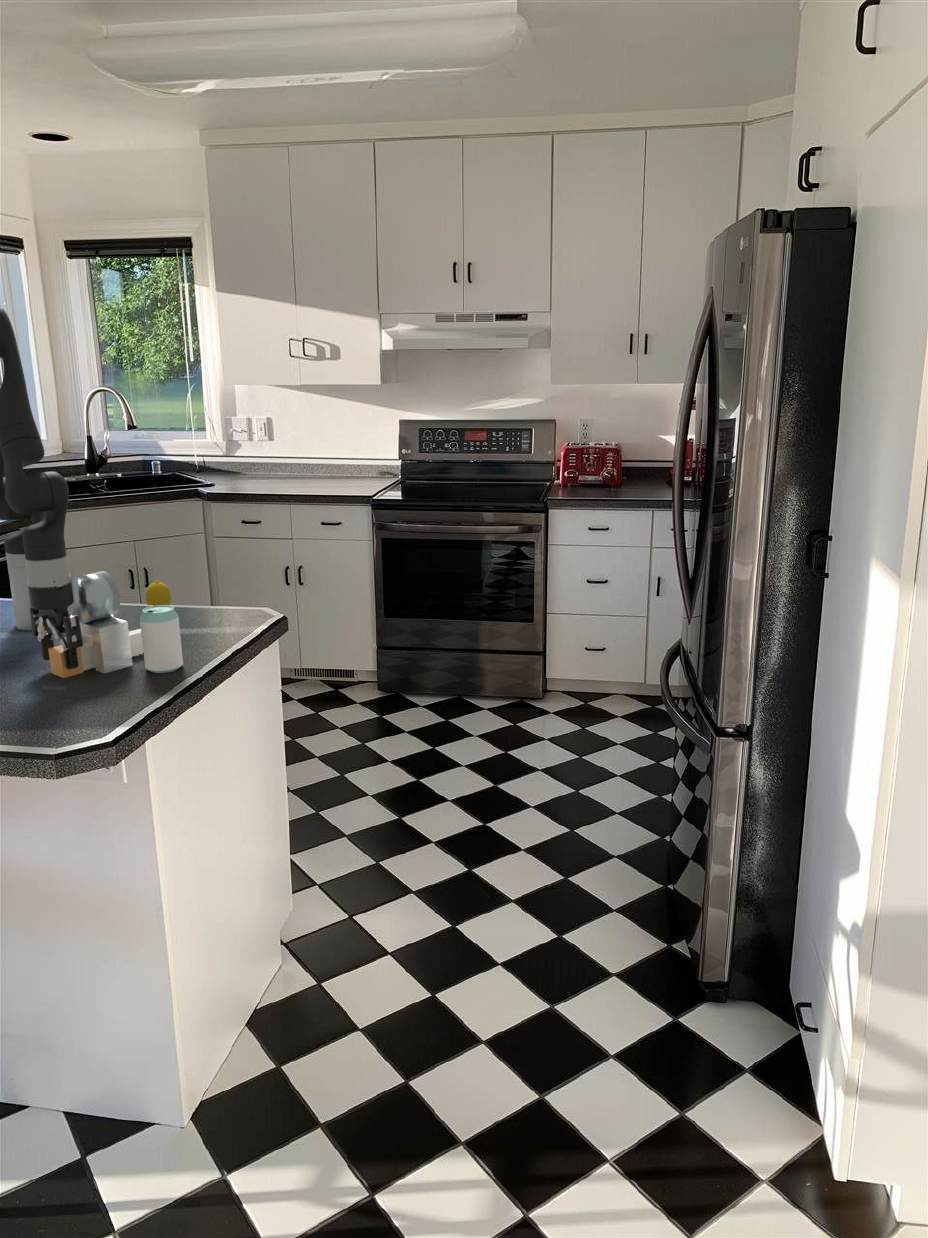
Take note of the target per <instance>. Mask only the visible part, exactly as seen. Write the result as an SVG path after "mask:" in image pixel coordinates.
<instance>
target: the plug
mask: <svg viewBox="0 0 928 1238" xmlns="http://www.w3.org/2000/svg"><path fill="white" fill-rule="evenodd" d="M129 639H130V648H131V656H132V657H133V656H134V657H136V656H140V655H139V654H141V655H144V654H143V644H142V635H141V628H138V629H134V630H131V631H129ZM48 650H49V657H50V660H49V664H50V671H51V674H53V675H55V676H58V677H61V678H62V679H65V678H70V677H71V676H72V677H73V676H77V675H80V674H83V673H84V671H88V670H91V669H94V668H95V669H96V665H95V657H94V649H93V642H92V641H91V642H88V643H84V644H83V646H81V647H78V648H77V649H76V650H77V658H78V667H77V668H74V669H67V668H66V667H65V659H64V652H63V650H64V649H63V647H62V645H61V644H60V645H57V646H54V647H52V648H48Z"/></svg>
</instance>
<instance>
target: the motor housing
mask: <svg viewBox="0 0 928 1238" xmlns="http://www.w3.org/2000/svg"><path fill="white" fill-rule="evenodd" d="M71 582H72V590H73V597H74V602H73V604H71V605H69V606H68V609H69V611H70V612H71V615H72V616H75V615H77V616H78V617H79V622H80V628H81V634H82V641H83V644H84V643H88V642H91V641H92V642H93V649H94V657H95V665H96V667H95V671H96V672H98V673H99V672H100V673H102V674H108V673H111V672H115V671H118V670H121V669H125V668H129V667H132V666H133V658H132V656H131V648H130V639H129V632H130V631H129V623H128V620H124V619H121V618H118V617H115V616H116V615H118V612H119V611H120V608H121V596H120V591H119V588H118V585H117V583H116V581H115V579H114V578H113V577H112V575H111V574H109V572H107V571H102V570H101V571H97V572H92V573H87V574H81V575H77V576H72V577H71ZM74 636H75V638H76V635H74ZM76 641H77V638H76Z"/></svg>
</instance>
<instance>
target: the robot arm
mask: <svg viewBox="0 0 928 1238" xmlns="http://www.w3.org/2000/svg"><path fill="white" fill-rule="evenodd" d="M0 359H2V362H3V363H2V364H3V376H2V382H1V385H0V520H1V521H8V522H9V521H21V520H23V521H24V520H31V524H30V525H29V526H27V527H25V528H24V529H23V530H21V531H20V532H17V533H15V534H13V535H9V536H7V538H5V540H4V542H3V545H4V550H5V551H4V552H5V558H6V563H7V564H6V565H7V571H8V572H7V573H8V577H9V585H10V592H11V598H12V600H11V601H12V605H13V612H14V618H15V624H16V628H17V629H18V630H21V631H32V636H33V637H34V638H35V637H37V640H38V642H39V643H40V650H41V656H42V660H43V661H45V662H48V661H50V657H49V650H48V648H52V647H55V643H54V638H55V640H56V641H57V642H60V645H62V647H63V649H64V650H63V652H64V659H65V667H66V668H67V669H74V668H77V667H78V658H77V650H76V649H77V648H78V647H81V646H83V641H82V634H81V628H80V622H79V617H78V616H77V615H75V616H73V615H70V613H69V610H68V609H69V605H71V604H73V602H74V597H73V590H72V582H71V578H72V577H71V569H70V564H69V559H68V556H67V548H66V540H65V528H66V527H65V525H66V518H67V517H66V516H67V510H68V505H69V498H70V493H69V492H70V491H69V485H68V482H67V480H66V479H65V478H64V477H63V475H62V474H60V473H58V472H57V471H44V472H33V473H25V471H24V468H26V467H28V466H32V465H34V464H36V463H37V464H38V462H40V461H42V460H43V458H44V457H45V448H44V444H43V442H42V439H41V436H40V432H39V430H38V427H37V424H36V421H35V419H34V415H33V412H32V408H31V403H30V398H29V394H28V389H27V383H26V378H25V374H24V369H23V365H22V361H21V360H22V359H21V356H20V351H19V348H18V342H17V339H16V335H15V331H14V328H13V325H12V322H11V319H10V318H9V316H8V313H7V312H6V310H5V309H4V308H2V306H0ZM74 635H76V638H77V641H76V638H75V636H74Z"/></svg>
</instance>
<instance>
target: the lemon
mask: <svg viewBox="0 0 928 1238" xmlns="http://www.w3.org/2000/svg"><path fill="white" fill-rule="evenodd" d="M145 601H146V604H147V607H151V606H148V605H153V606H157V605H169V606H171V604H172V603H171V602H172V595H171V591H170V589H169V587H168V586H167V585H166V584H165V583H163V582H161V581H159V580H155V581H154V582H151V584H149V585H148V586H147V588H146V592H145Z"/></svg>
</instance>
